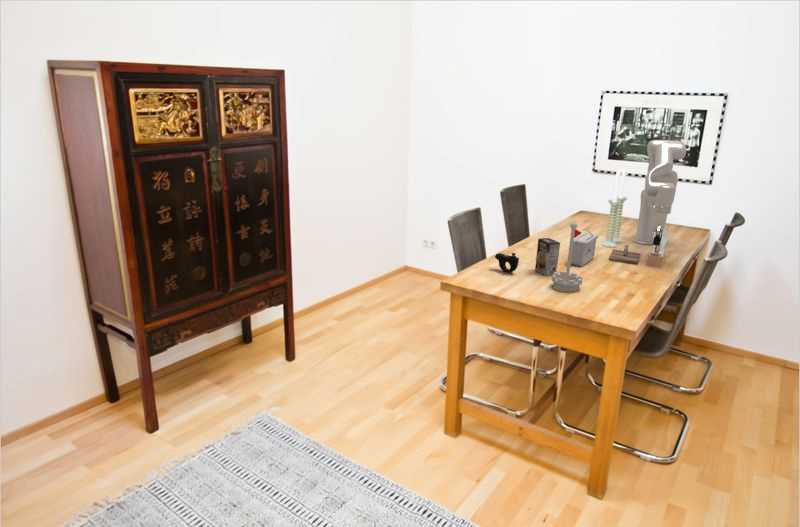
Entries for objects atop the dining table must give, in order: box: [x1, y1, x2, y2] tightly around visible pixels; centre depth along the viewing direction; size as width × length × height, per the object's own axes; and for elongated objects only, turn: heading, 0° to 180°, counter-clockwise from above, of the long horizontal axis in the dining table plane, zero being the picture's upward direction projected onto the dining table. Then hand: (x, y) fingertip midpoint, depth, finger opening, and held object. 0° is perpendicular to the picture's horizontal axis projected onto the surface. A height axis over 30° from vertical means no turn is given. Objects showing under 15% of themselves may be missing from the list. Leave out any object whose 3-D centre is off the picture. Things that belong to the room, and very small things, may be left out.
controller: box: [494, 252, 520, 274], centre depth 266 cm, size 4×12×10 cm, turn 46°
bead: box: [645, 252, 661, 267], centre depth 284 cm, size 6×6×5 cm
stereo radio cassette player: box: [571, 227, 599, 267], centre depth 283 cm, size 21×8×20 cm, turn 145°
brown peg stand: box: [608, 244, 642, 266], centre depth 292 cm, size 18×14×8 cm
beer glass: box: [651, 228, 670, 258], centre depth 296 cm, size 7×7×15 cm
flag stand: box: [551, 222, 584, 293], centre depth 244 cm, size 13×13×30 cm
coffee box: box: [534, 237, 561, 277], centre depth 265 cm, size 9×6×16 cm
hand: (656, 243), depth 280 cm, fingers open, 9 cm apart
